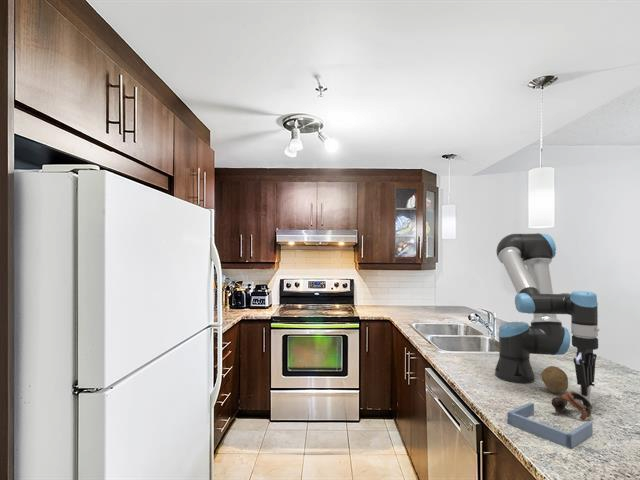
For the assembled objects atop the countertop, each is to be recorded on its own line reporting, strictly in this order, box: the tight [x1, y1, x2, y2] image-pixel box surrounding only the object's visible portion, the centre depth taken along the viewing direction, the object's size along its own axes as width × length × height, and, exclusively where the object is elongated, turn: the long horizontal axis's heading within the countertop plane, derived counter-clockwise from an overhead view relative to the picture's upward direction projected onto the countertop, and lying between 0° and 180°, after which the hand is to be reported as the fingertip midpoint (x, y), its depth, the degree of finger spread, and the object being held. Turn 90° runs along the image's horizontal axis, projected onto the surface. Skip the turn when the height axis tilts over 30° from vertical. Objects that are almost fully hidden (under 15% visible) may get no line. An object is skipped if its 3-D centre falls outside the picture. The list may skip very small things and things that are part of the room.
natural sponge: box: [540, 365, 569, 394], centre depth 142 cm, size 9×9×10 cm
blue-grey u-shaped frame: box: [506, 402, 594, 450], centre depth 113 cm, size 18×14×4 cm
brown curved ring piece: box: [551, 391, 593, 421], centre depth 122 cm, size 12×10×8 cm
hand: (586, 404), depth 127 cm, fingers closed
